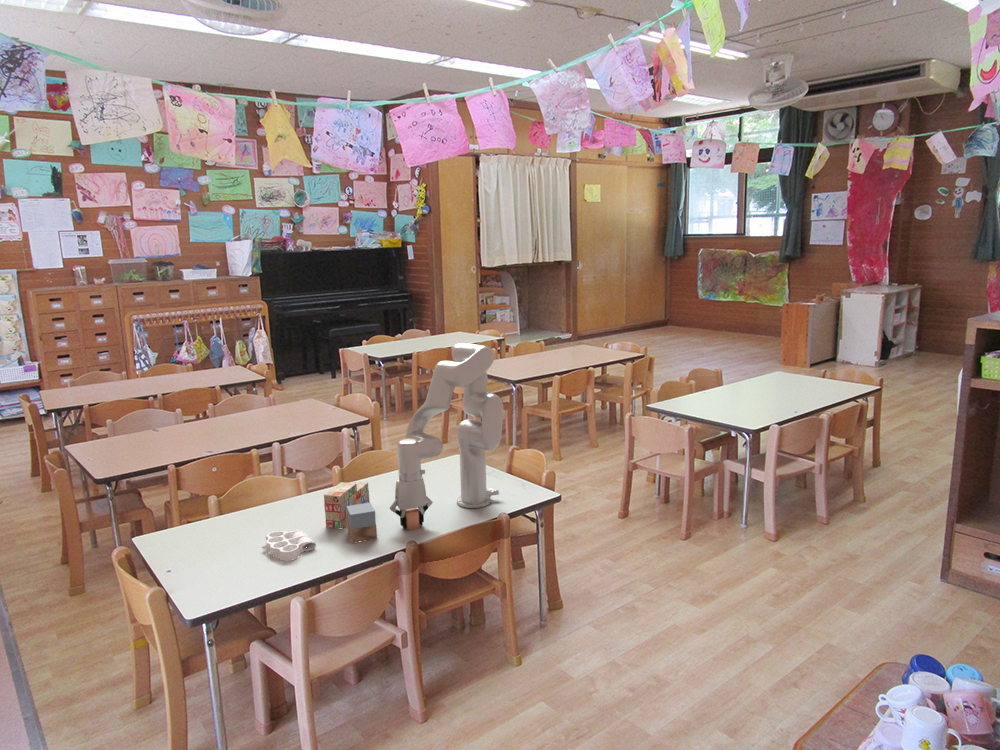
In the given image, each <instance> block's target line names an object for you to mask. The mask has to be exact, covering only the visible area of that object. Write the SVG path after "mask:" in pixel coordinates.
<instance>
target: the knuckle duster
mask: <svg viewBox="0 0 1000 750" xmlns="http://www.w3.org/2000/svg"><path fill="white" fill-rule="evenodd" d="M265 541H266V543H265V545H263V546H262V547H261V548H262V549H265V550H267V551H268V552H267V555H270V556H271V555H272V556H271V557H273V556H274V557H273V558H278V557H279V558H278V559H280V561H282V560H284V561H285V560H290V561H293V560H292V559H294V560H296V559H298V558H299V557H300V554H302V553H305V552H309V551H312V550H314V548H316V546H317V544H316V542H315V541H314V540H312V539H311V538H310V536H309V535H307V534H306V533H305V531H303V530H300V529H295V530H291V531H284V530H275V531H271V532H269V533H267V534H266V536H265ZM306 547H307V548H306ZM304 551H305V552H304ZM301 552H302V553H301ZM298 556H299V557H298ZM297 557H298V558H297ZM295 558H296V559H295ZM284 561H283V562H284ZM285 562H286V561H285Z"/></svg>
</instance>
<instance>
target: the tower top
mask: <svg viewBox="0 0 1000 750" xmlns="http://www.w3.org/2000/svg"><path fill="white" fill-rule="evenodd" d="M346 509H347V521H348V523H349V525H350V527H351V529H356V528H362V527H368V526H374V525H376V526H377V523H376V510H375V509H374V506H373V505H372V503H371V502H370V503H363V504H357V505H351V506H346Z"/></svg>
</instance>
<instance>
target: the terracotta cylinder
mask: <svg viewBox="0 0 1000 750" xmlns="http://www.w3.org/2000/svg"><path fill="white" fill-rule="evenodd" d="M405 518H406V530H407V531H416V530H418V529H420V527H421V526H420V521H419V509H418V508H412V509H406V511H405Z"/></svg>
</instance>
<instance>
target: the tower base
mask: <svg viewBox="0 0 1000 750" xmlns="http://www.w3.org/2000/svg"><path fill="white" fill-rule="evenodd" d="M347 522H348V521H347ZM377 531H378V530H377V524H376V525H374V526H368V527H362V528H356V529H351V527H350V525H349V523H348V525H347V533H348V536H349V538H350V540H351V542H352V544H355V542H357V543H360V542H359V541H362V542H365V541H364V540H368V541H370V540H369V539H373V540H376V539H375V538H377V539H378V532H377Z"/></svg>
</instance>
